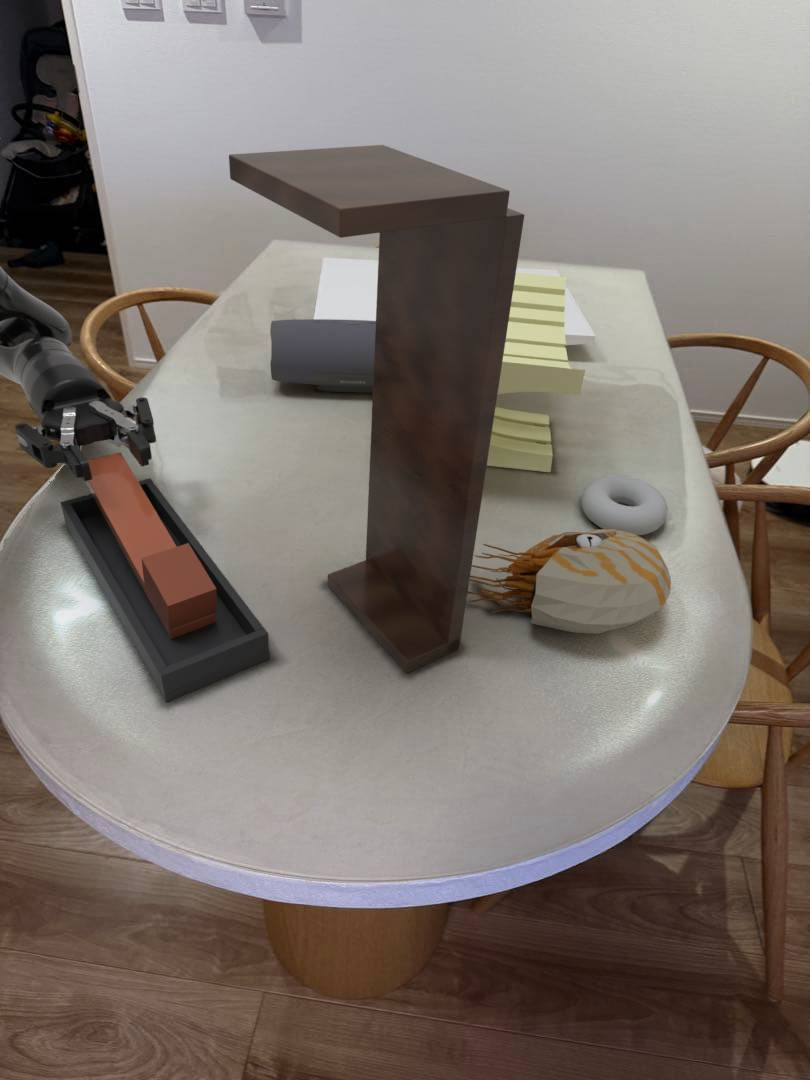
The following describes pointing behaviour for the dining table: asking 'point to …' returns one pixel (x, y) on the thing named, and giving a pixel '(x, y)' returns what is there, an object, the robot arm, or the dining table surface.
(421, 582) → the dark brown wooden stand
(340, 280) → the board
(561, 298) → the slatted curved stool
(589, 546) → the nautilus
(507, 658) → the dining table surface
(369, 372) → the bluetooth speaker
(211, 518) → the dining table surface
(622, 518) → the donut
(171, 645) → the shallow dark tray
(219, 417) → the dining table surface
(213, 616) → the reddish-brown long block
